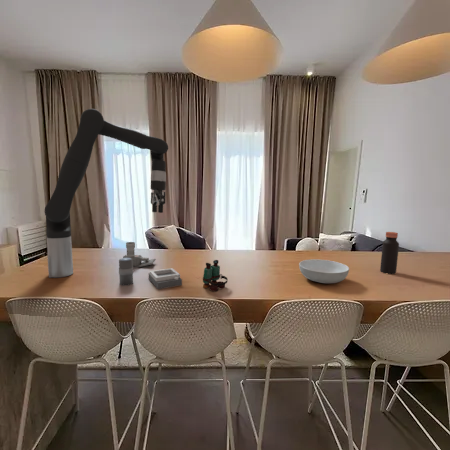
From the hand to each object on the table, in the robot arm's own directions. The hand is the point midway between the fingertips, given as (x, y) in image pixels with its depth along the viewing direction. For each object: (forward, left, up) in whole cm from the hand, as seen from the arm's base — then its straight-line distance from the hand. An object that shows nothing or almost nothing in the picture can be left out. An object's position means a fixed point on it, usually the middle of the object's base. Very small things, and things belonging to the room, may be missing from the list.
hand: (157, 212), depth 138 cm
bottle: (+97, -64, -27) cm, 119 cm away
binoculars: (+11, -44, -27) cm, 53 cm away
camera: (-9, +2, -27) cm, 29 cm away
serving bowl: (+58, -57, -27) cm, 86 cm away
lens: (-20, -23, -27) cm, 41 cm away
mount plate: (-5, -28, -27) cm, 40 cm away
